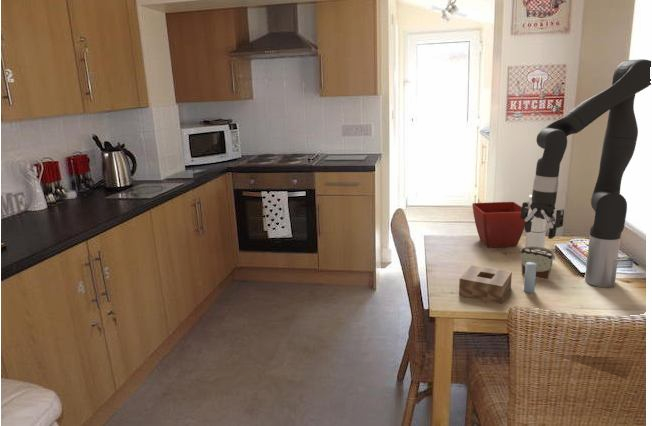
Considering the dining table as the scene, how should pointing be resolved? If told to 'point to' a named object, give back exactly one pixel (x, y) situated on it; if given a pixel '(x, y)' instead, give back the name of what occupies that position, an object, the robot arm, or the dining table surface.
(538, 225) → the cylindrical container
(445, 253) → the dining table surface
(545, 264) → the food container
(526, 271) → the dowel
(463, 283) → the socket block
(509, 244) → the plant pot
